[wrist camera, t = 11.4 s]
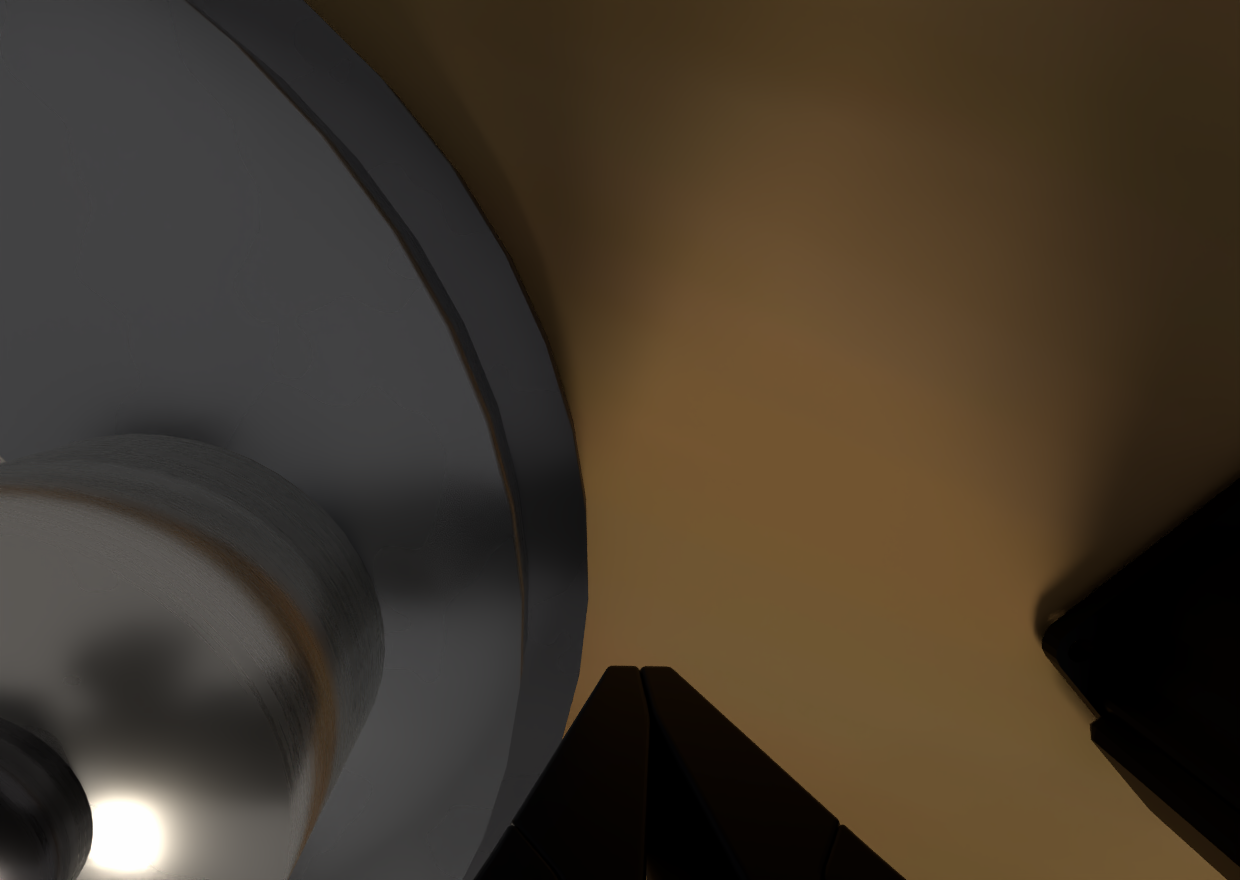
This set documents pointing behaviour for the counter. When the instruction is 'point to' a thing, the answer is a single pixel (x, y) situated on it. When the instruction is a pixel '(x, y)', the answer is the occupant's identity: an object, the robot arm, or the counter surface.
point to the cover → (173, 662)
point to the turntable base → (501, 334)
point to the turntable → (270, 372)
